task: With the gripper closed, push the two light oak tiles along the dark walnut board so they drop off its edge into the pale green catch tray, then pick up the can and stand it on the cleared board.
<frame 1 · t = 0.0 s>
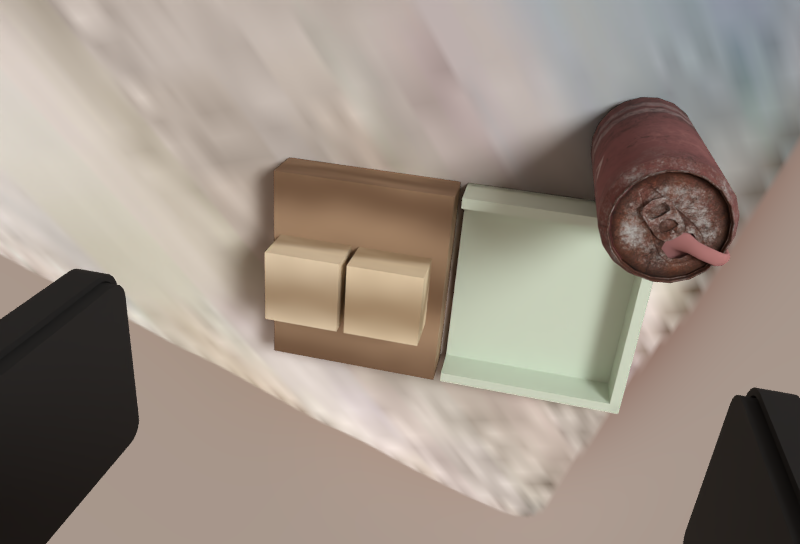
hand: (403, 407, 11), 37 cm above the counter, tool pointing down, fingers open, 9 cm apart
tile a: (315, 272, 50), point 3 cm above the counter, touching board
catch tray: (545, 290, 50), on the counter
can: (643, 144, 45), on the counter
board: (367, 261, 52), on the counter
tile b: (392, 285, 49), point 3 cm above the counter, touching board
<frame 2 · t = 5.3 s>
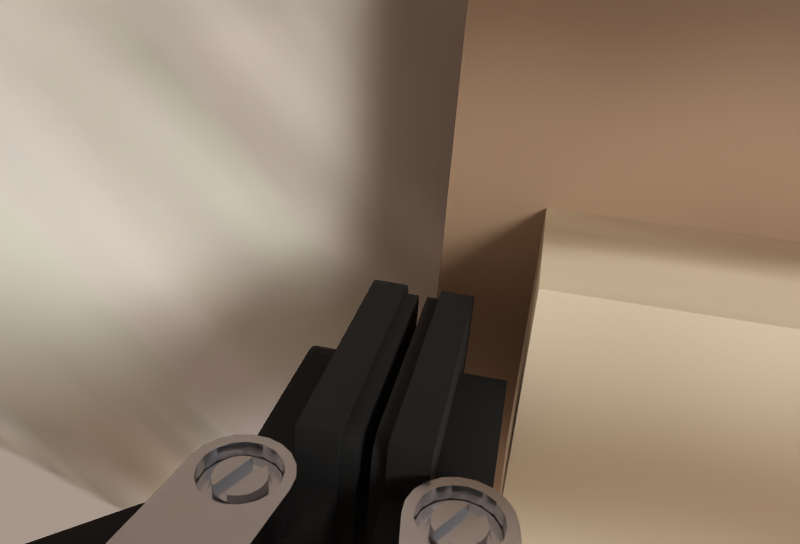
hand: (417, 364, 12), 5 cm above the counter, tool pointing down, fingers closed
tile a: (666, 358, 13), point 3 cm above the counter, touching board, gripper, tile b
board: (740, 292, 15), on the counter
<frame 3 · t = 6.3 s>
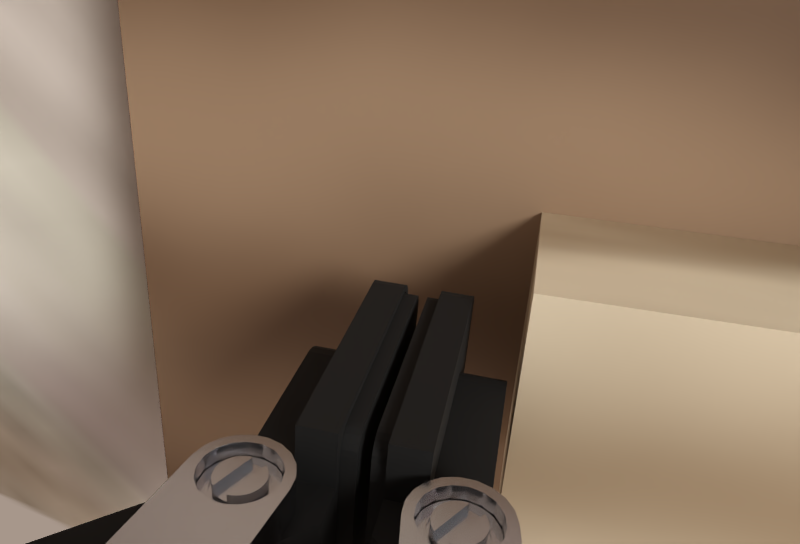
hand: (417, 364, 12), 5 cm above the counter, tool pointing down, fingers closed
tile a: (662, 360, 13), point 3 cm above the counter, touching gripper
board: (463, 250, 16), on the counter
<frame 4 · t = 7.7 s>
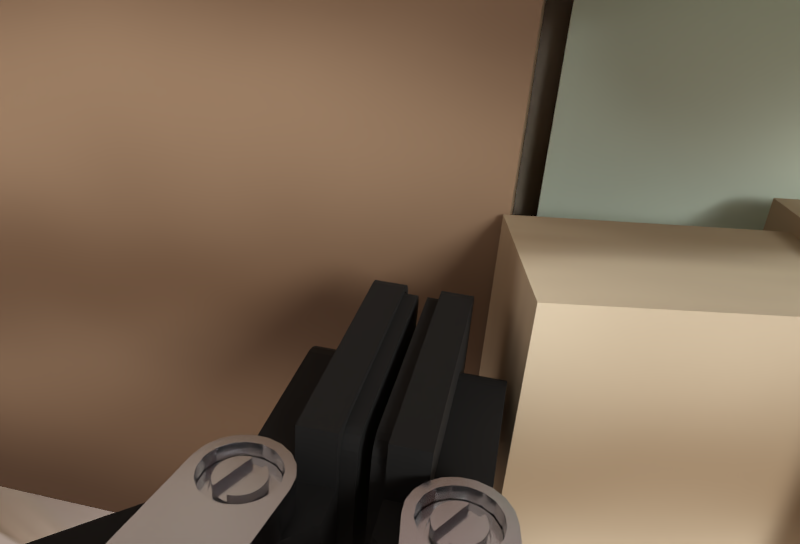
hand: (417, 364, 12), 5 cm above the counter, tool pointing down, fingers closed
tile a: (616, 346, 13), point 3 cm above the counter, tilted 13°, touching gripper, tile b
board: (249, 219, 17), on the counter
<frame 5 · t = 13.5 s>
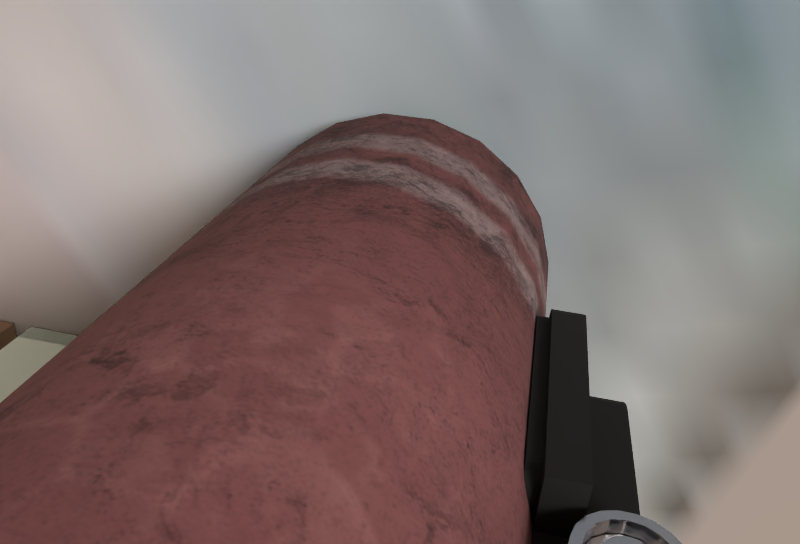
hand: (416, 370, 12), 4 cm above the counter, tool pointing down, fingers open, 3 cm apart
can: (410, 248, 16), on the counter, touching gripper
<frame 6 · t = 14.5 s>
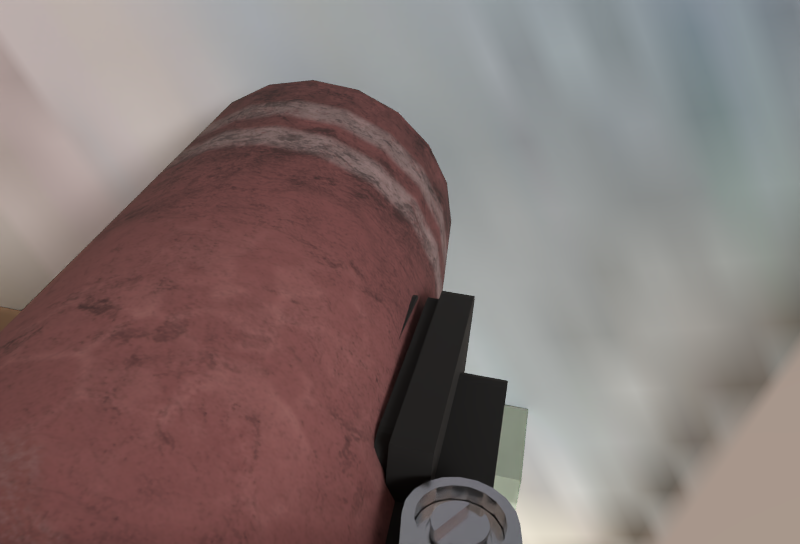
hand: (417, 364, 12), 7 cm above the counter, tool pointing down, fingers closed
can: (330, 200, 17), point 1 cm above the counter, touching gripper
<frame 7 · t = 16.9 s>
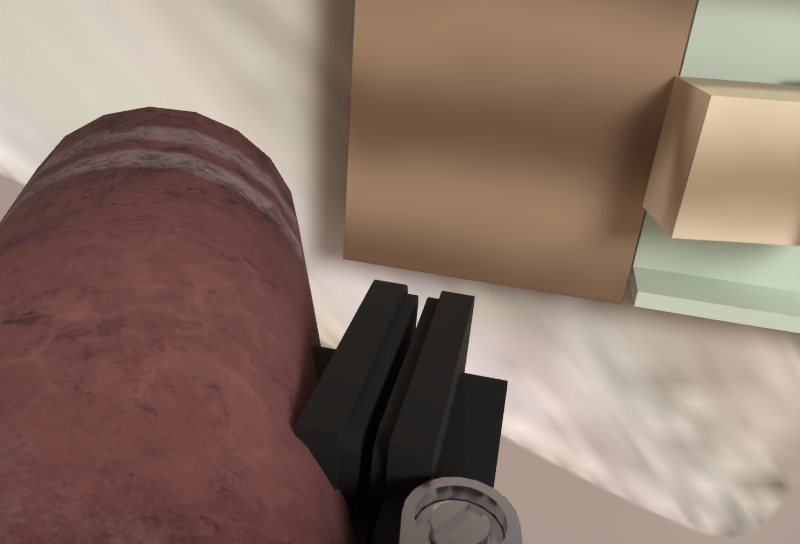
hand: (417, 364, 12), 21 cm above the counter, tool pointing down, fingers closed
tile a: (722, 148, 27), point 2 cm above the counter, tilted 15°, touching board, tile b
can: (175, 224, 18), point 16 cm above the counter, touching gripper
board: (507, 102, 30), on the counter
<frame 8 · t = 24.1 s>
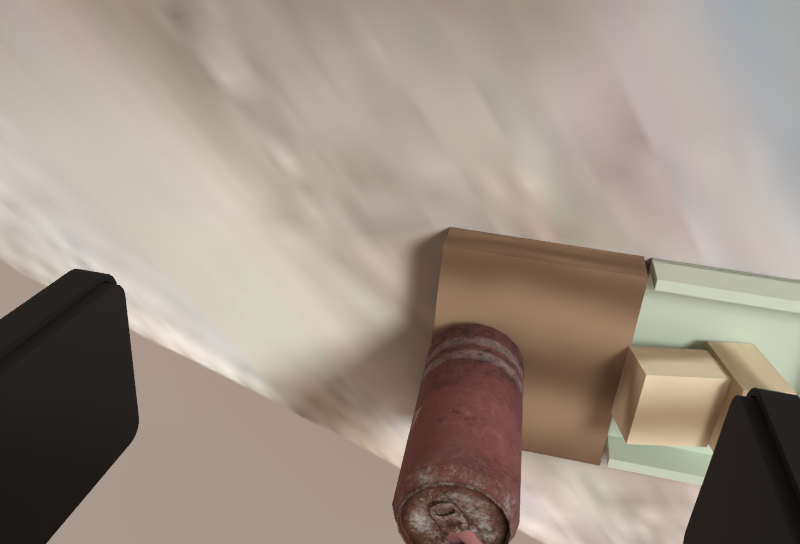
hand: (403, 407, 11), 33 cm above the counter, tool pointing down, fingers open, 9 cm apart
tile a: (658, 381, 45), point 2 cm above the counter, tilted 15°, touching board, tile b
catch tray: (726, 371, 46), on the counter
can: (477, 359, 46), point 3 cm above the counter, touching board
board: (527, 336, 48), on the counter
tile b: (712, 399, 43), point 4 cm above the counter, tilted 104°, touching catch tray, tile a
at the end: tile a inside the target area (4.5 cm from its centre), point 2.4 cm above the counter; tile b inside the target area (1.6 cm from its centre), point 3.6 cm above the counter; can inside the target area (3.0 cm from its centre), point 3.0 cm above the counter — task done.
